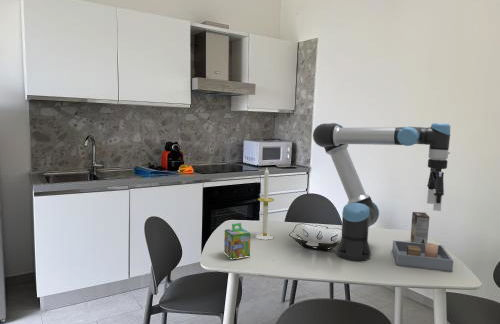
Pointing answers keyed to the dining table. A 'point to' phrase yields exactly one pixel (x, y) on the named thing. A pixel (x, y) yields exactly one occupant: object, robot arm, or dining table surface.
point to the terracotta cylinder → (431, 250)
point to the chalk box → (237, 242)
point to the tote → (421, 257)
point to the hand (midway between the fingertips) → (433, 206)
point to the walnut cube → (413, 250)
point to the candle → (265, 203)
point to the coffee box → (419, 227)
